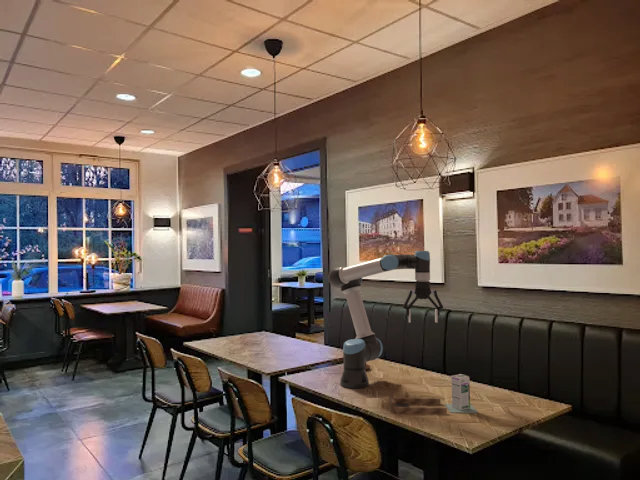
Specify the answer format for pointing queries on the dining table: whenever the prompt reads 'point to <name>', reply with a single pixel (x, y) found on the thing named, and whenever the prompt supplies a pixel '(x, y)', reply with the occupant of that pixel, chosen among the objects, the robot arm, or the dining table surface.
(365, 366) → the cup and saucer
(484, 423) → the dining table surface
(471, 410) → the pad
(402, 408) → the walnut lane
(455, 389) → the syrup box
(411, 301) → the robot arm
